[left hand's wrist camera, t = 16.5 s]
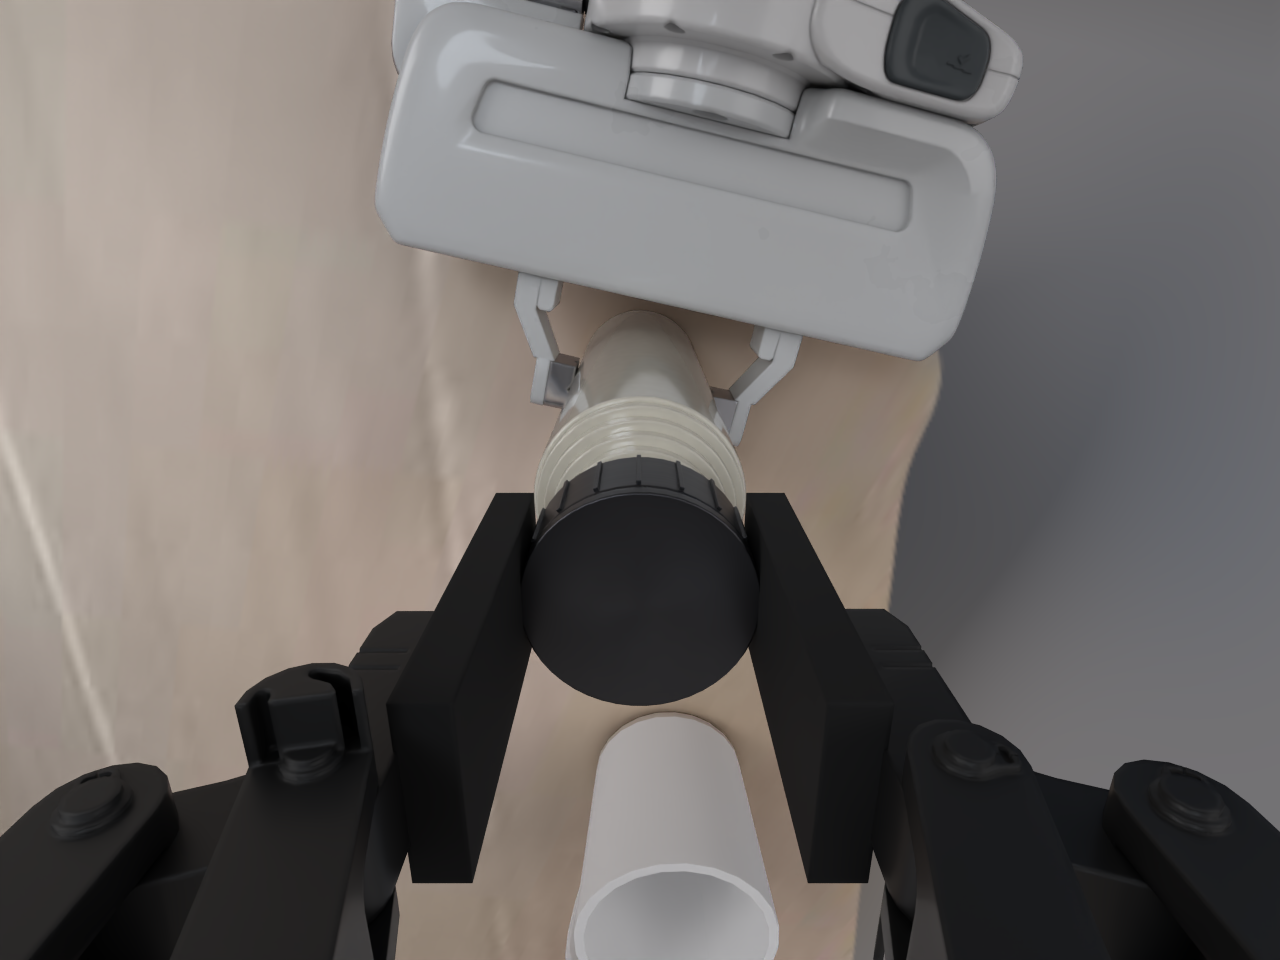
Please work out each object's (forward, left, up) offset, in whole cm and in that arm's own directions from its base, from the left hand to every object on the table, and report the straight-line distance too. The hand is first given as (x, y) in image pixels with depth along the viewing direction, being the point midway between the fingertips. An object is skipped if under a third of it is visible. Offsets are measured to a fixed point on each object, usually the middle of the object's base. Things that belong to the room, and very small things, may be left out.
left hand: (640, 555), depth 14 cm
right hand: (-1, 0, -13) cm, 13 cm away
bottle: (0, 0, -19) cm, 19 cm away
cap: (0, 0, +2) cm, 2 cm away
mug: (-22, -8, -19) cm, 31 cm away
